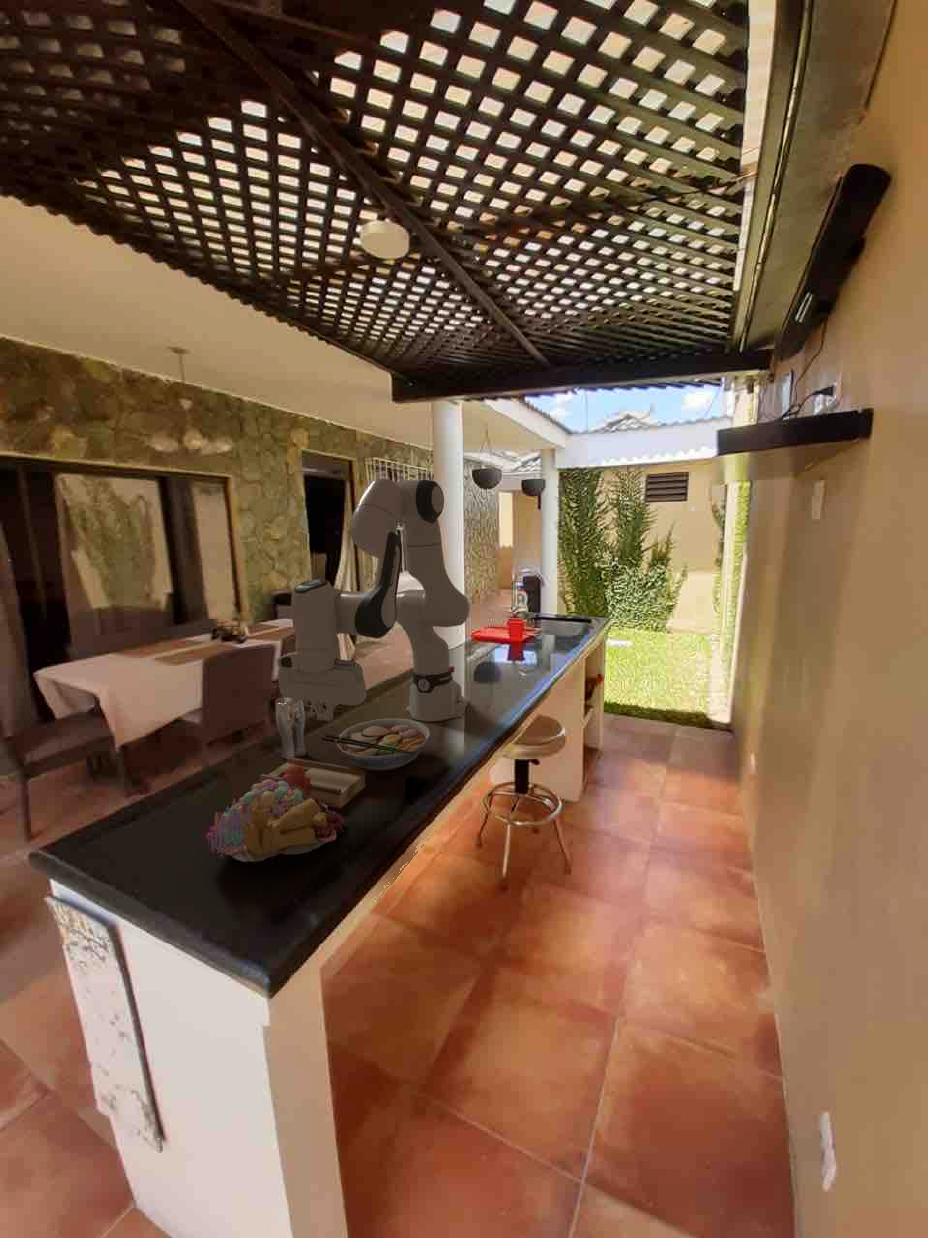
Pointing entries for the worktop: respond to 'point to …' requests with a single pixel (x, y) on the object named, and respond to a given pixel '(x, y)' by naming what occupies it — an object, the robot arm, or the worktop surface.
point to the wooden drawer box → (324, 780)
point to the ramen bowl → (382, 743)
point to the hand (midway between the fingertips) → (325, 719)
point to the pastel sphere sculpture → (274, 821)
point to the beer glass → (291, 726)
